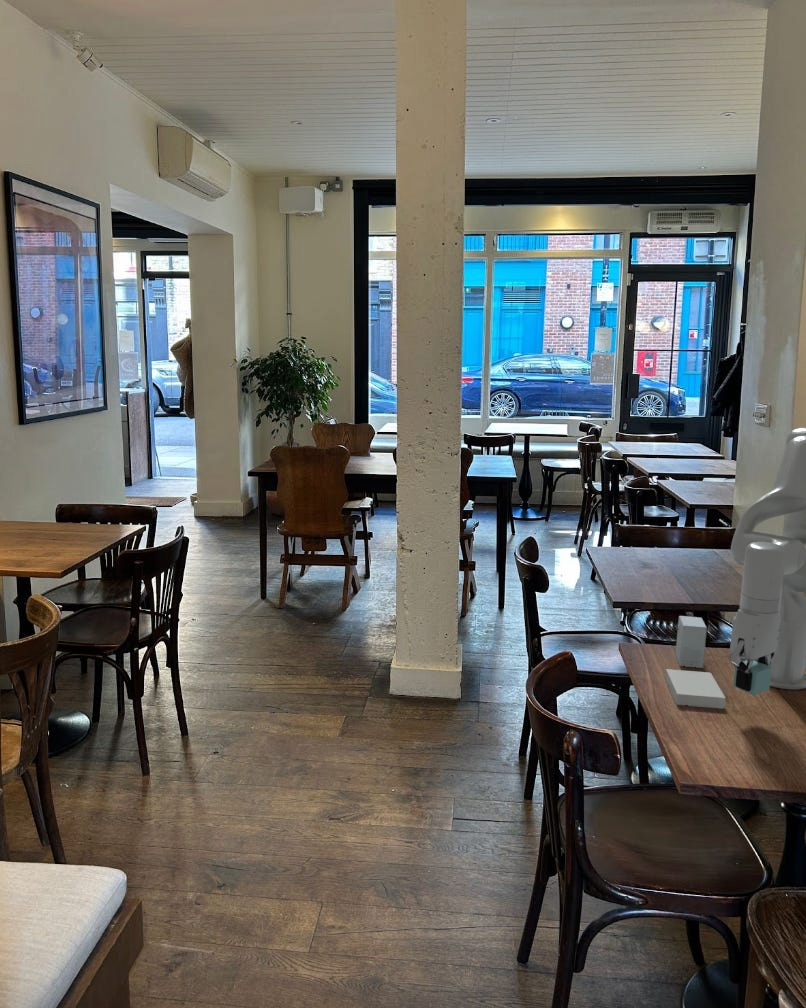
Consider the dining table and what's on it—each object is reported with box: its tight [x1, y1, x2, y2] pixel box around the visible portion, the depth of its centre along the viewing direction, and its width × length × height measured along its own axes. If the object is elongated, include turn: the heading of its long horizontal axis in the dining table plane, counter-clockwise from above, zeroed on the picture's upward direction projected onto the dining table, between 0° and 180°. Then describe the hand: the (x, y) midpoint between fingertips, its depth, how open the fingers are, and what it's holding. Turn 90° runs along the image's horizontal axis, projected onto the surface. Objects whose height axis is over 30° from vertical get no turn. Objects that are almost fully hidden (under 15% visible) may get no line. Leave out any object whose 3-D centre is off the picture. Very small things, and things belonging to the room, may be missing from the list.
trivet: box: [664, 668, 726, 710], centre depth 182 cm, size 14×10×2 cm
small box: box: [675, 615, 708, 669], centre depth 200 cm, size 8×6×10 cm
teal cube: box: [732, 660, 772, 696], centre depth 170 cm, size 5×5×5 cm
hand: (751, 684), depth 170 cm, fingers closed on teal cube, 5 cm apart
